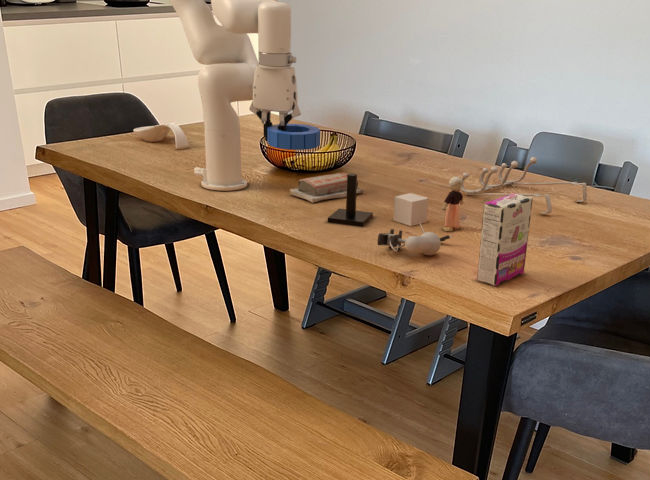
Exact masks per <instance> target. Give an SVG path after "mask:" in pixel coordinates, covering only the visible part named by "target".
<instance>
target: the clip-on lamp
mask: <svg viewBox="0 0 650 480" xmlns="http://www.w3.org/2000/svg"><path fill="white" fill-rule="evenodd" d="M419 226H420V228H421V230H422V232H423V233H422V234H421V235H410V236H408V237H407V238H406V239H405V238H403V230H401V229H400V230H399V231H398V234H395V230H394V228H391V229H390V230H389V232H383V233H382V232H381V233H378V235H377V245H378V246H385V247H388V249H391V250H393V252H395V253H397V252H398V250H399V251H400V250H401V248H403V247H405V248H406V250H407V251H408V252H409V253H421V254H423V255H425V256H433V255H436V254H437V253H438V252H439V250H440V249H441V246H442V242H445V241H446V240H449V239H451V238H453V236H454V235H448V234H447V235H445V236H442V237H439V235H438V234H437V233H435V232H432V231H426V232H425V230H424V227H423V225H422V223H420V224H419Z"/></svg>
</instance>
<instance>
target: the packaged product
mask: <svg viewBox="0 0 650 480" xmlns="http://www.w3.org/2000/svg"><path fill="white" fill-rule="evenodd" d="M347 174H349V173H348V172H337V173H329V174H325V175H318V176H317V175H316V176H312V177H306V178H305V177H304V178H301V179H299V180H298V182H297V184H298V187H295V188H290V189H289V191H290V192H289V193H290V196H294V197H297V198H300V199H303V200H307V201H308V202H311V203H317V202H322V201H326V200H332V199H338V198H341V199H342V198H346V195H347ZM363 192H364V189H362V188H360V187H359V181H358V180H357V189H356V195H358V194H359V195H360V194H363Z"/></svg>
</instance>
